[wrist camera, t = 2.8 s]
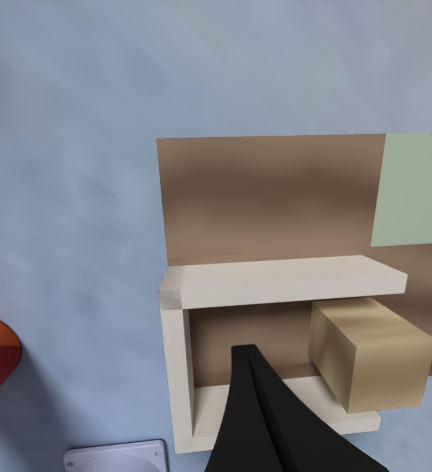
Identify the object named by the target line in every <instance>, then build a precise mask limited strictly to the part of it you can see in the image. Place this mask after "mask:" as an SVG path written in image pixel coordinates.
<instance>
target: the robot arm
mask: <svg viewBox="0 0 432 472" xmlns="http://www.w3.org/2000/svg"><path fill="white" fill-rule="evenodd" d="M63 462H64V465H65V469H66V472H167V463H166V455H165V447H164V442H163V441H161V440H153V441H144V442H135V443H126V444H117V445H108V446H99V447H90V448H81V449H72V450H68V451H67V452H66V453H65V455H64V457H63ZM204 472H389V471H388V469H387V468H386V467H384V466H383V465H381V464H380V463H378V462H377V461H375V460H374V459H373V458H371V457H370V456H368V455H367V454H365V453H364V452H362V451H361V450H359V449H358V448H357V447H355V446H354V445H353V444H351V443H350V442H349V441H347V440H346V439H345V438H343V437H342V436H341V435H339V434H338V433H337V432H336V431H335V430H333V429H332V428H331V427H330V426H329V425H327V424H326V423H325V422H324V421H323V420H321V419H320V418H319V417H318V416H317V415H316V414H315V413H314V412H313V411H312V410H310V409H309V408H308V407H307V406H306V405H305V404H304V403H303V402H302V401H301V400H300V399H299V398H298V397H297V396H296V395H295V394H294V393H293V391H292V390H291V389H290V388H289V387H288V386H287V385H286V384H285V383H284V381H283V380H282V379H281V378H280V377H279V375H278V374H277V373H276V372H275V371H274V369H273V368H272V367H271V366H270V364H269V363H268V362H267V360H266V359H265V358H264V356H263V355H262V353H261V352H260V350H259V349H258V347H257V346H256V345H255V344H247V345H235V346H232V347H231V380H230V386H229V392H228V398H227V402H226V407H225V411H224V415H223V418H222V422H221V425H220V429H219V432H218V435H217V438H216V441H215V444H214V447H213V450H212V453H211V456H210V459H209V461H208V464H207V466H206V469H205V471H204Z"/></svg>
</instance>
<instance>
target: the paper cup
mask: <svg viewBox="0 0 432 472" xmlns="http://www.w3.org/2000/svg"><path fill="white" fill-rule="evenodd" d="M21 355H22V348H21V344H20V341H19V339H18V337H17V335H16V334H15V333H14V331H13V330H12V329H11V328H10V327H9V326H7V325H6V324H5V323H3V322H2V321H0V386H1V385H2V384H3V382H4V381H5V380H6V379H7V378H8V377H9V376H10V374H11V373H12V372H13V371H14V370H15V368H16V367H17V365H18V364H19V362H20V359H21Z"/></svg>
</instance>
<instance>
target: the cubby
mask: <svg viewBox="0 0 432 472" xmlns="http://www.w3.org/2000/svg"><path fill="white" fill-rule="evenodd" d="M407 276H408V274H406V273H403V272H401V271H399V270H396V269H394V268H391V267H389V266H387V265H384V264H382V263H380V262H377V261H375V260H372V259H370V258H368V257H365V256H363V255H355V256H338V257H321V258H304V259H287V260H270V261H253V262H236V263H220V264H203V265H186V266H169V267H168V268H167V271H166V273H165V276H164V278H163V281H162V283H161V286H160V288H159V291H158V292H159V301H160V310H161V320H162V329H163V339H164V348H165V357H166V367H167V376H168V386H169V395H170V405H171V414H172V423H173V433H174V442H175V452H176V454H180V453H189V452H197V451H206V450H213V447H214V444H215V441H216V438H217V435H218V432H219V429H220V425H221V422H222V418H223V415H224V411H225V407H226V402H227V398H228V392H229V386H230V385H221V386H210V387H200V388H194V380H193V366H192V353H191V339H190V325H189V311H188V309H192V308H205V307H219V306H233V305H247V304H260V303H274V302H288V301H302V300H315V299H329V298H343V297H357V296H371V295H384V294H398V293H404V292H405V287H406V282H407ZM282 380H283V381H284V383H285V384H286V385H287V386H288V387H289V388H290V389H291V390H292V391H293V393H294V394H295V395H296V396H297V397H298V398H299V399H300V400H301V401H302V402H303V403H304V404H305V405H306V406H307V407H308V408H309V409H310V410H312V411H313V412H314V413H315V414H316V415H317V416H318V417H319V418H320V419H321V420H323V421H324V422H325V423H326V424H327V425H329V426H330V427H331V428H332V429H333V430H335V431H336V432H337V433H338V434H339V435H343V434H351V433H360V432H368V431H377V430H379V425H380V420H381V417H380V415H379V414H378V413H377V412H376V411H371V412H361V413H352V414H347V413H346V411H345V410H344V408H343V406H342V405H341V403H340V402H339V400H338V399H337V397H336V396H335V394H334V393H333V391H332V390H331V388H330V386H329V385H328V383H327V382H326V380H325V379H324V377H323V376H313V377H303V378H292V379H282Z"/></svg>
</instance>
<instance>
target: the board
mask: <svg viewBox="0 0 432 472" xmlns="http://www.w3.org/2000/svg"><path fill="white" fill-rule="evenodd" d="M385 139H386V134H353V135H303V136H252V137H202V138H156V140H157V151H158V161H159V172H160V183H161V194H162V205H163V216H164V227H165V238H166V248H167V259H168V267H169V266H186V265H203V264H220V263H236V262H253V261H270V260H287V259H304V258H321V257H338V256H355V255H363V256H365V257H368V258H370V259H372V260H375V261H377V262H380V263H382V264H384V265H387V266H389V267H391V268H394V269H396V270H399V271H401V272H403V273H406V274H408V276H407V282H406V287H405V292H404V293H398V294H384V295H371V296H357V297H343V298H329V299H315V300H302V301H288V302H274V303H260V304H247V305H233V306H219V307H205V308H192V309H188V311H189V325H190V339H191V353H192V366H193V380H194V388H200V387H210V386H221V385H230V380H231V347H232V346H235V345H247V344H255V345H256V346H257V347H258V349H259V350H260V352H261V353H262V355H263V356H264V358H265V359H266V360H267V362H268V363H269V364H270V366H271V367H272V368H273V369H274V371H275V372H276V373H277V374H278V375H279V377H280V378H281V379H292V378H303V377H313V376H322V374H321V373H320V371H319V370H318V368H317V366H316V365H315V363H314V362H313V360H312V359H311V357H310V356H309V354H308V348H309V335H310V323H311V310H312V302H314V301H327V300H341V299H354V298H368V297H371V298H372V299H374V300H375V301H377V302H379V303H380V304H382V305H383V306H385V307H386V308H388V309H389V310H391V311H392V312H394V313H396V314H397V315H399V316H400V317H402V318H403V319H405V320H406V321H408V322H410V323H411V324H413V325H414V326H416V327H417V328H419V329H420V330H422V331H423V332H425V333H427V334H428V335H430V336H431V337H432V243H427V244H410V245H392V246H374V247H371V239H372V232H373V225H374V218H375V211H376V204H377V196H378V189H379V182H380V175H381V168H382V161H383V154H384V146H385ZM428 376H432V361H431V365H430V370H429V374H428Z"/></svg>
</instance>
